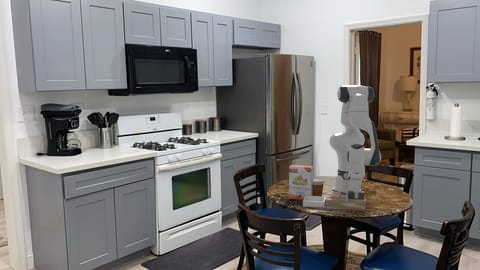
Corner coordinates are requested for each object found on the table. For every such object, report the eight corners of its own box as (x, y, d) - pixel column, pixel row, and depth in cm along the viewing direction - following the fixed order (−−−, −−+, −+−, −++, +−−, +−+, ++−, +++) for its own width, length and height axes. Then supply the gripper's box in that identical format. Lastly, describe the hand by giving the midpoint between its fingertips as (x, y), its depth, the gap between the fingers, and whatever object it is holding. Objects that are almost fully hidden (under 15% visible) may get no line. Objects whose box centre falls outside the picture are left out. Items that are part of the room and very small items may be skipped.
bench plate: (326, 202, 241) (326, 194, 241) (364, 204, 235) (364, 196, 235) (325, 208, 230) (325, 199, 229) (365, 210, 224) (365, 202, 223)
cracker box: (288, 199, 249) (288, 166, 246) (291, 196, 255) (291, 164, 252) (311, 201, 243) (311, 167, 241) (313, 198, 249) (313, 165, 246)
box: (305, 200, 245) (305, 195, 244) (325, 202, 242) (325, 196, 241) (303, 206, 233) (303, 200, 233) (324, 208, 230) (324, 202, 230)
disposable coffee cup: (316, 201, 242) (316, 182, 241) (305, 198, 250) (305, 179, 249) (327, 199, 248) (327, 180, 246) (316, 195, 256) (316, 177, 254)
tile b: (332, 197, 234) (332, 194, 234) (340, 197, 233) (340, 194, 232) (331, 199, 230) (332, 196, 229) (340, 199, 228) (340, 196, 228)
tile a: (332, 195, 239) (332, 191, 238) (340, 195, 237) (340, 192, 237) (332, 197, 234) (332, 193, 234) (340, 197, 233) (340, 194, 233)
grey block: (346, 195, 238) (346, 188, 237) (364, 196, 235) (364, 189, 234) (345, 200, 226) (345, 193, 226) (364, 201, 223) (364, 194, 223)
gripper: (351, 169, 239) (350, 191, 241) (350, 176, 220) (350, 201, 222) (362, 169, 238) (361, 192, 239) (362, 177, 218) (362, 201, 220)
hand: (356, 196), depth 230 cm, fingers open, 5 cm apart
